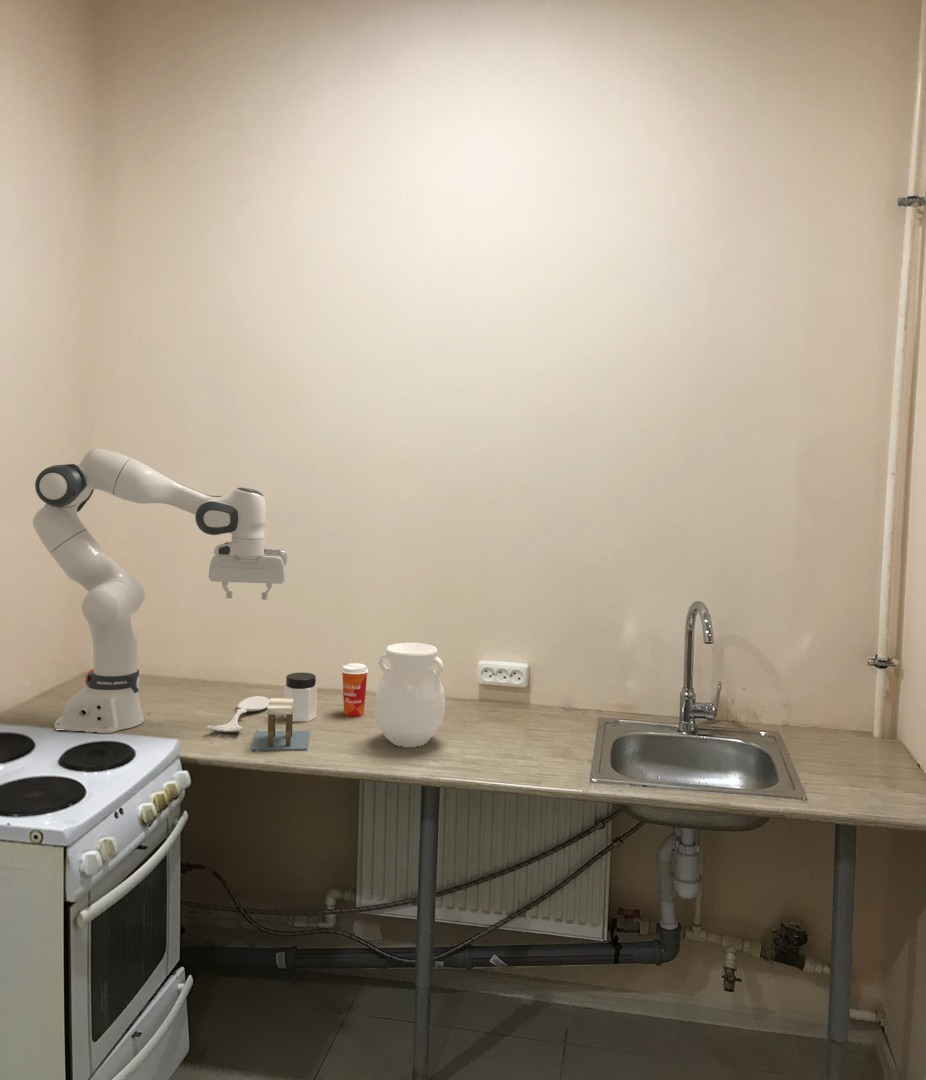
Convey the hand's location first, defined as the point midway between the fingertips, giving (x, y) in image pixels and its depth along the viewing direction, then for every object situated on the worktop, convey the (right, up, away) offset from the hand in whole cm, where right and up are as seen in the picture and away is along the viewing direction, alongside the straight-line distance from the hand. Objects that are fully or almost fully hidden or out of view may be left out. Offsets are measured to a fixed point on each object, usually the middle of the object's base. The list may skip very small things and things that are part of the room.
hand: (246, 598), depth 250 cm
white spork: (-2, -34, +5) cm, 35 cm away
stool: (+12, -36, -13) cm, 40 cm away
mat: (+12, -36, -12) cm, 40 cm away
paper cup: (+28, -34, +13) cm, 46 cm away
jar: (+13, -34, +8) cm, 38 cm away
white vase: (+45, -37, -9) cm, 59 cm away
